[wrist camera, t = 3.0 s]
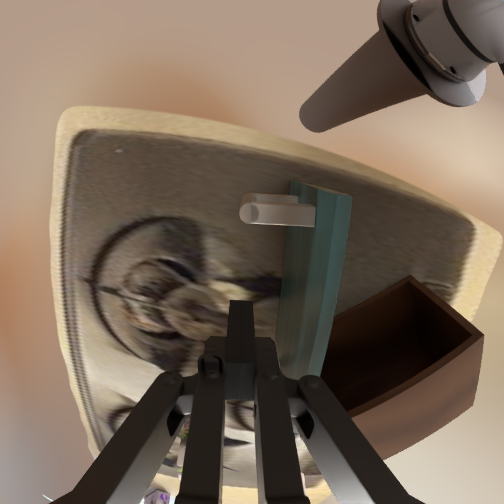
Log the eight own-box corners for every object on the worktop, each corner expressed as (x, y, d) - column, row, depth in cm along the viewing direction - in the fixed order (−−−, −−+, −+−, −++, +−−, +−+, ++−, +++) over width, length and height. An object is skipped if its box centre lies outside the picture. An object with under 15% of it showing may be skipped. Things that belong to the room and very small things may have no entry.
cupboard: (281, 341, 35) (300, 438, 20) (410, 274, 33) (484, 334, 18) (315, 398, 39) (336, 479, 24) (422, 343, 37) (473, 405, 22)
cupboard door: (235, 337, 35) (232, 434, 20) (242, 177, 29) (239, 186, 14) (282, 338, 35) (302, 433, 20) (299, 180, 29) (353, 195, 14)
